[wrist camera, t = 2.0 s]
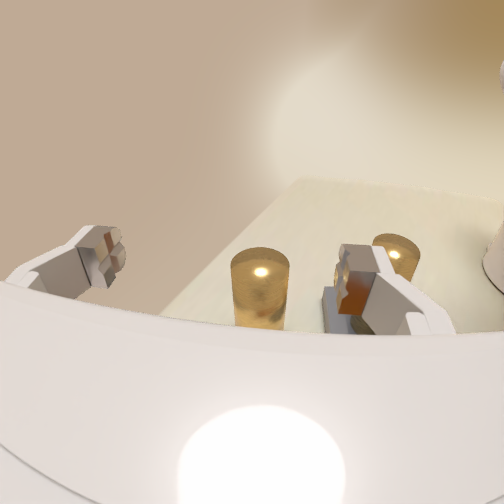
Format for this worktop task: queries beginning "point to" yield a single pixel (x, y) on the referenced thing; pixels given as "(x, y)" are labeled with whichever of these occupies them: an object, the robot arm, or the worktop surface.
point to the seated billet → (403, 263)
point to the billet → (260, 288)
